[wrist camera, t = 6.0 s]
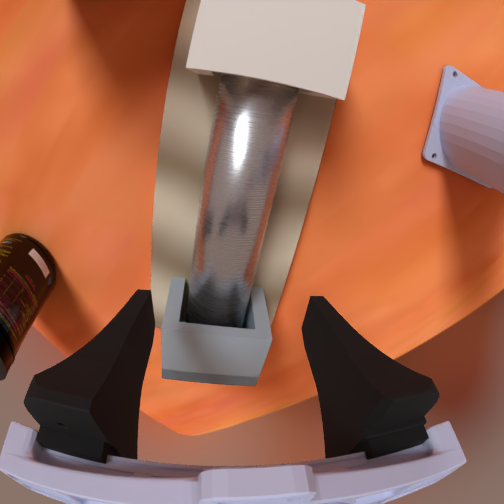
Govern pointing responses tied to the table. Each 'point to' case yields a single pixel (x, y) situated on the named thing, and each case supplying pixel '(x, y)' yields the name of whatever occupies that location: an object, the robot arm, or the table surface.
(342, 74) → the sleeve
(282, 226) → the board
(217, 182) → the tube
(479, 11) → the table surface
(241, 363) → the socket
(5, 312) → the supplement container
